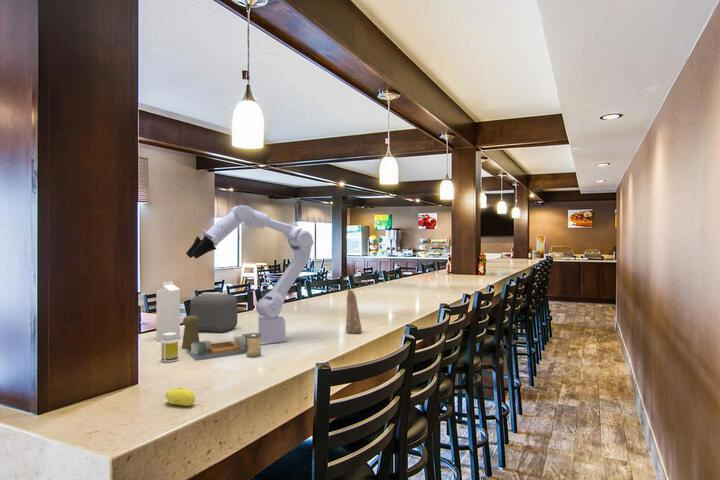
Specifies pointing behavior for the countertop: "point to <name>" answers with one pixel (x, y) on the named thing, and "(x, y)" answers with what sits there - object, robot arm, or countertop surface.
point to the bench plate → (218, 348)
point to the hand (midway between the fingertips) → (190, 256)
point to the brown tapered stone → (352, 315)
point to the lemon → (180, 396)
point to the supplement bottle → (169, 347)
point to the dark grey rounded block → (214, 311)
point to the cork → (190, 331)
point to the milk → (168, 310)
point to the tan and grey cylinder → (253, 345)
